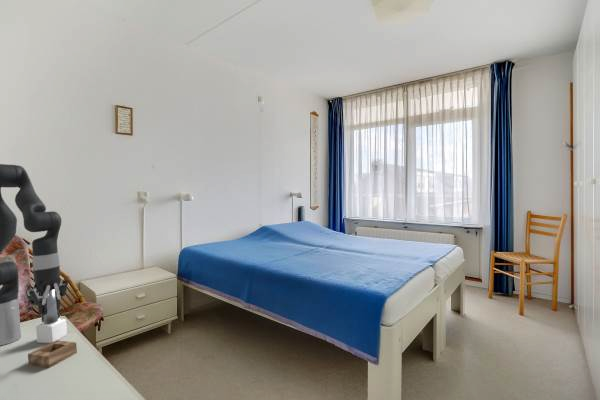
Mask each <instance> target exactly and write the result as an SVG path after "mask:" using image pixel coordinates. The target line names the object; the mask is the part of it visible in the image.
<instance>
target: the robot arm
mask: <svg viewBox="0 0 600 400" xmlns="http://www.w3.org/2000/svg"><path fill="white" fill-rule="evenodd" d="M2 188H19V190H18V191H17V193H16V195H15V197H14V202H15V205H16V207H17V208H18V210H19V211H20V212H21V214H22V217H23V227H24V229H25V230H26V231H28V232H30V233H40V232H41V233H42V232H46V233H45V235H43V236H41V237H39V238H36V239H33V240H32V242H31V249H32V274H33V281H34V286H33V288H31V289H29V290H26V291H25V292H24V293H25V295H26V297H27V299H28V301H29V302H30V304H31V305H32V306H38V307H37V308H38V313H39V315H46V314H47V310H46V304H45V303H46V298H47V297H48V292H49V290H52V289H55V292H56V302H57V310H59V311H60V308H61V299H62V297H65V296H66V293H67V290H68V286H69V280H68V279H61V278H60V277H61V267H60V266H61V265H60V257H59V253H58V240H59V239H58V238H59V233H60V230H61V227H62V217H61V215H60V213H58V212H57V211H54V210H53V211H52V210H51V211H47V207H46V205H45V203H44V202H43V201H42V199H41V198H40V197H39V196H38V194H37V193H36V191H35V189H34V186H33V184H32V181H31V179H30V177H29V174H28V172H27V170H26V169H25V168H24V167H23V166H21V165H17V164H4V163H0V255H1V254H2V252H3V251H4V250H5V249H6V248H7V246H8V245H9V244H10V243H11V241H13V239H14V238H15V236H16V234H17V224H18V220H17V219H18V218H17V216H16V214H15V213H14V212H13V210H11V208H10V207H9V205H8V204H7V203H6V202H5V200H4V198H3V196H2V190H1V189H2ZM19 283H20V282H19V268H18V265H17V263H16V262H14V261H5V262H4V261H3V262H0V286H1V288H0V346H4V345H8V344H11V343H13V342H14V343H15V342H16V341H18V340H19V339H21V338H22V332H21V318H20V317H21V316H20V305H19V292H20V291H19ZM42 295H43V296H42Z"/></svg>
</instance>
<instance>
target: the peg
mask: <svg viewBox="0 0 600 400" xmlns="http://www.w3.org/2000/svg"><path fill="white" fill-rule="evenodd" d="M42 296H43V295H42ZM45 304H46V310H47V314H46V315H43V318H44V324H51V323H54V322H57V321H58V315H57V302H56V292H55V289H52V290H49V292H48V297H47V298H46V303H45Z"/></svg>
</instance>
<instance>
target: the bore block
mask: <svg viewBox="0 0 600 400" xmlns="http://www.w3.org/2000/svg"><path fill="white" fill-rule="evenodd" d="M77 353H78V350H77V342H75V341H64V340H56V341H54V342H52V343H46V345H43V346H42V347H40V348H39V347H38V349H35V350H33V351H31V352H29V353H27V360H28V361H27V362H28V366H34V367H43V368H46V369H47V368H49V369H50V368H52V367H54V366H55V365H58V364H59V363H61V362H63V361H65V360H66V359H68V358H71V356H73V355H75V354H77Z"/></svg>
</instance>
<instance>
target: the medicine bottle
mask: <svg viewBox="0 0 600 400" xmlns="http://www.w3.org/2000/svg"><path fill="white" fill-rule="evenodd" d="M40 315H41V314H40ZM57 315H58V321H57V322H54V323H51V324H44V318H43V315H41V317H40V318H41V324H38V325H36V327H35V328H36V329H35V330H36V331H35V332H36V340H37V341H36V343H37V344H50V343H52V342H54V341H56V340H58V341H60V340H61V339H63V338H64V337H66V336H67V335H68V330H67V329H68V328H67V320H66V319H65V318H63V319H61V311H60V309H59V310H57Z"/></svg>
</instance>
